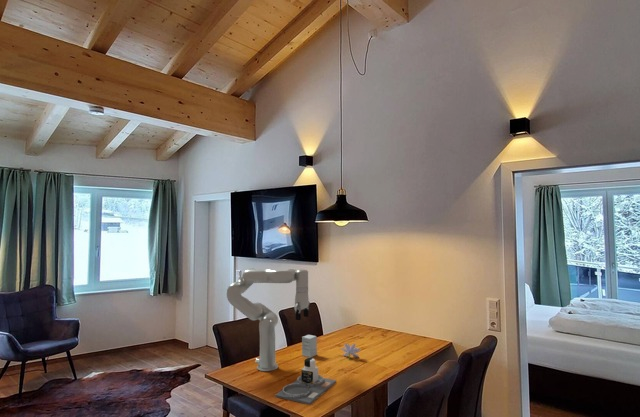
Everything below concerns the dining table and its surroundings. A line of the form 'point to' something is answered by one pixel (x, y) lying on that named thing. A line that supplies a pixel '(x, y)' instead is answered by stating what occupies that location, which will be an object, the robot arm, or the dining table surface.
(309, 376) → the medicine bottle
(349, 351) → the water lily
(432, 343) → the dining table surface
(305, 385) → the steel rings
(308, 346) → the supplement box
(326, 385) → the socket board
